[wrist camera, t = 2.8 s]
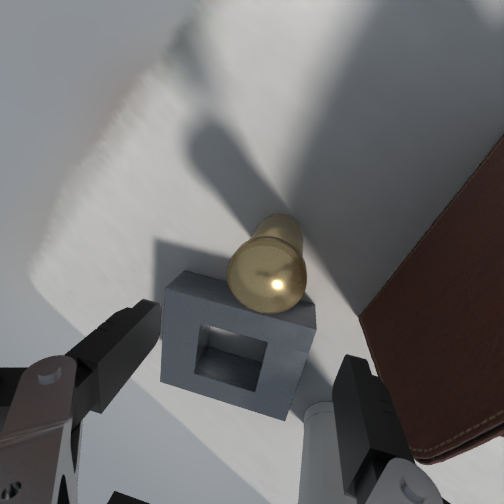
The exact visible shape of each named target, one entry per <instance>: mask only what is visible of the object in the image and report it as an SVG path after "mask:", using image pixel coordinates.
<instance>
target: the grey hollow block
mask: <svg viewBox="0 0 504 504" xmlns="http://www.w3.org/2000/svg"><path fill="white" fill-rule="evenodd" d="M210 326H213V327H216V328H220V329H223V330H227V331H230V332H234V333H238V334H241V335H245V336H248V337H252V338H255V339H259V340H262V341H266V342H267V344H266V348H265V351H264V355H263V359H262V363H260V362H256V361H253V360H250V359H246V358H243V357H239V356H236V355H233V354H229V353H226V352H222V351H219V350H216V349H212V348H209V347H208V340H209V333H210ZM316 330H317V329H316V312H315V305H314V304H310V303H307V302H303V301H298V302H297V303H296V304H295V305H294V306H293V307H291V308H289V309H288V310H285V311H283V312H279V313H261V312H257V311H254V310H252V309H250V308H248V307H246V306H244V305H243V304H242V303H241V302H240V301H238V300H237V298H236V297H235V296H234V295H233V293H232V291H231V289H230V287H229V284H228V282H226V281H222V280H218V279H215V278H211V277H207V276H203V275H199V274H195V273H192V272H188V271H183V272H182V273H181V274H180V275H179V276H178V277H177V278H176V279H175V280H174V281H173V282H172V283H171V284H170V285H169V286H168V287H166V288H165V302H164V321H163V339H162V357H161V376H160V382H163V383H166V384H169V385H172V386H175V387H179V388H182V389H185V390H188V391H191V392H194V393H197V394H201V395H204V396H207V397H210V398H213V399H216V400H220V401H223V402H226V403H229V404H232V405H235V406H238V407H242V408H245V409H248V410H251V411H254V412H257V413H260V414H264V415H267V416H270V417H273V418H276V419H279V420H283V421H285V420H286V417H287V414H288V411H289V408H290V405H291V402H292V400H293V397H294V394H295V391H296V388H297V385H298V382H299V379H300V376H301V373H302V371H303V368H304V365H305V362H306V359H307V356H308V353H309V350H310V347H311V344H312V342H313V339H314V336H315V333H316Z"/></svg>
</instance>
